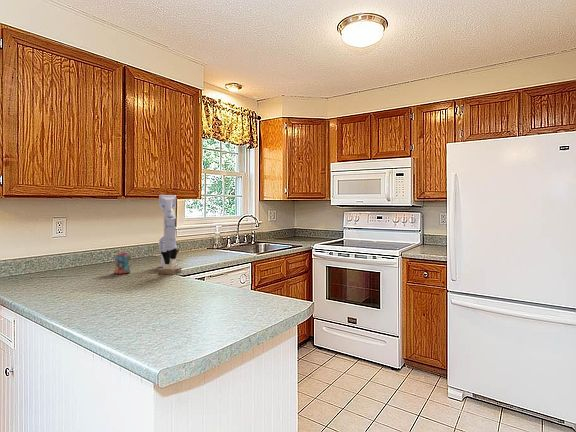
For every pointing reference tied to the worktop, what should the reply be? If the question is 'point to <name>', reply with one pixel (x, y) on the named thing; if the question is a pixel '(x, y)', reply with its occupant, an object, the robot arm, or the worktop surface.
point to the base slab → (169, 271)
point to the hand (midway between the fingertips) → (170, 263)
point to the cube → (170, 264)
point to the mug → (122, 263)
